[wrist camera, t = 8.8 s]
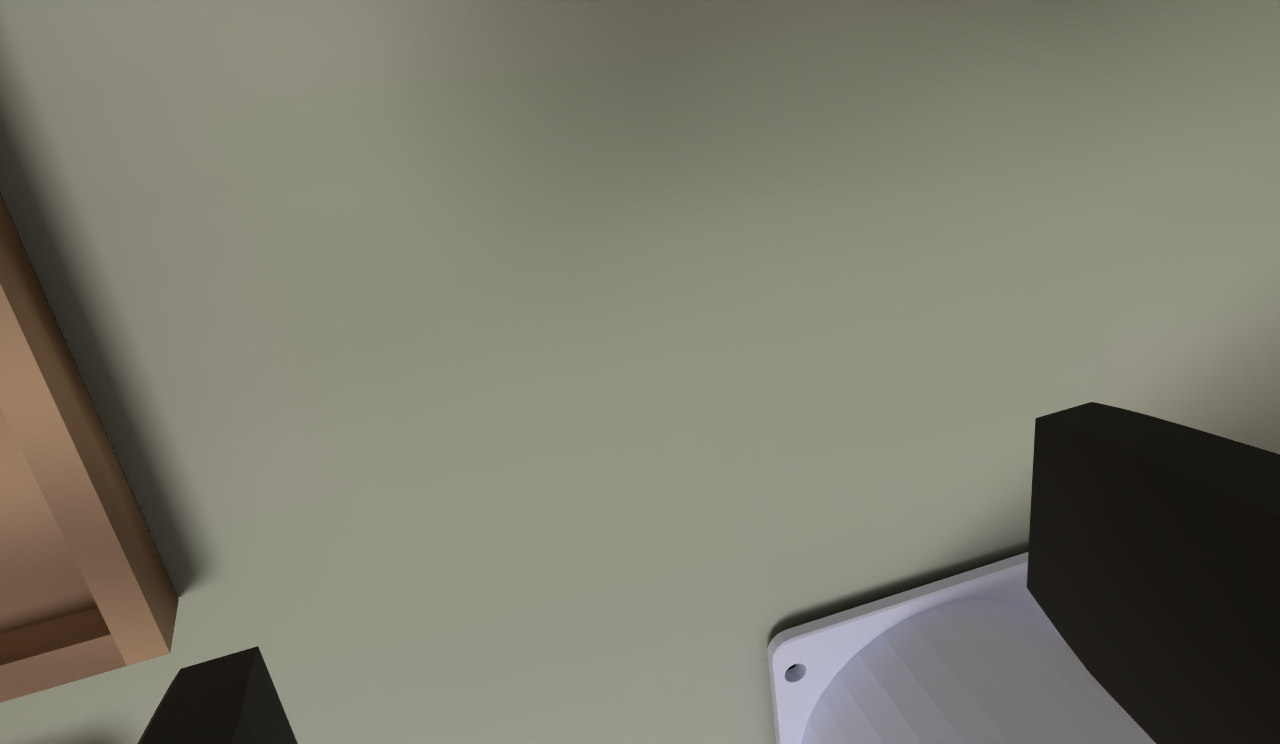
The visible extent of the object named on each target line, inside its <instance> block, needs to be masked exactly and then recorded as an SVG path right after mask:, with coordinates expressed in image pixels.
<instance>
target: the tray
mask: <svg viewBox="0 0 1280 744" xmlns="http://www.w3.org/2000/svg"><path fill="white" fill-rule="evenodd" d="M178 600H179V599H178V597H177V595H176V592H175V590H174V588H173V586H172V583H171V581H170V579H169V576H168V574H167V572H166V570H165V567H164V565H163V563H162V561H161V558H160V556H159V554H158V551H157V549H156V547H155V545H154V542H153V540H152V538H151V536H150V533H149V531H148V529H147V526H146V524H145V522H144V520H143V517H142V515H141V513H140V511H139V508H138V506H137V504H136V501H135V499H134V497H133V495H132V492H131V490H130V488H129V486H128V483H127V481H126V479H125V476H124V474H123V472H122V470H121V467H120V465H119V463H118V461H117V458H116V456H115V454H114V451H113V449H112V447H111V445H110V442H109V440H108V438H107V435H106V433H105V431H104V429H103V426H102V424H101V422H100V420H99V417H98V415H97V413H96V410H95V408H94V406H93V404H92V401H91V399H90V397H89V395H88V392H87V390H86V388H85V385H84V383H83V381H82V379H81V376H80V374H79V372H78V370H77V367H76V365H75V363H74V360H73V358H72V356H71V354H70V351H69V349H68V347H67V345H66V342H65V340H64V338H63V335H62V333H61V331H60V329H59V326H58V324H57V322H56V319H55V317H54V315H53V313H52V310H51V308H50V306H49V304H48V301H47V299H46V297H45V294H44V292H43V290H42V288H41V285H40V283H39V281H38V279H37V276H36V274H35V272H34V269H33V267H32V265H31V263H30V260H29V258H28V256H27V254H26V251H25V249H24V247H23V244H22V242H21V240H20V238H19V235H18V233H17V231H16V229H15V226H14V224H13V222H12V219H11V217H10V215H9V213H8V210H7V208H6V206H5V204H4V201H3V199H2V197H1V194H0V702H4V701H7V700H11V699H14V698H17V697H21V696H24V695H28V694H31V693H35V692H38V691H42V690H45V689H49V688H52V687H55V686H59V685H62V684H66V683H69V682H73V681H76V680H80V679H83V678H87V677H90V676H93V675H97V674H100V673H104V672H107V671H111V670H114V669H118V668H121V667H124V666H128V665H131V664H135V663H138V662H142V661H145V660H149V659H152V658H156V657H159V656H162V655H166V654H169V653H170V650H171V644H172V638H173V632H174V625H175V619H176V613H177V606H178Z"/></svg>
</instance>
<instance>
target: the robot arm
mask: <svg viewBox="0 0 1280 744" xmlns="http://www.w3.org/2000/svg"><path fill="white" fill-rule="evenodd" d="M767 656H768V666H769V676H770V686H771V696H772V706H773V716H774V726H775V736H776V744H1280V455H1279V454H1276V453H1273V452H1269V451H1266V450H1263V449H1260V448H1256V447H1253V446H1250V445H1246V444H1243V443H1240V442H1236V441H1233V440H1230V439H1227V438H1223V437H1220V436H1217V435H1213V434H1210V433H1207V432H1203V431H1200V430H1197V429H1193V428H1190V427H1187V426H1183V425H1180V424H1176V423H1173V422H1169V421H1166V420H1162V419H1159V418H1155V417H1152V416H1148V415H1144V414H1141V413H1137V412H1133V411H1129V410H1125V409H1121V408H1117V407H1113V406H1108V405H1103V404H1099V403H1094V402H1090V403H1087V404H1083V405H1080V406H1076V407H1073V408H1069V409H1066V410H1063V411H1059V412H1056V413H1052V414H1049V415H1046V416H1042V417H1039V418H1036V422H1035V440H1034V459H1033V477H1032V496H1031V514H1030V533H1029V552H1026V553H1023V554H1020V555H1017V556H1014V557H1010V558H1007V559H1004V560H1001V561H998V562H995V563H992V564H989V565H986V566H982V567H979V568H976V569H973V570H970V571H967V572H964V573H961V574H958V575H954V576H951V577H948V578H945V579H942V580H939V581H936V582H933V583H930V584H926V585H923V586H920V587H917V588H914V589H911V590H908V591H905V592H902V593H898V594H895V595H892V596H889V597H886V598H883V599H880V600H877V601H874V602H870V603H867V604H864V605H861V606H858V607H855V608H852V609H849V610H846V611H842V612H839V613H836V614H833V615H830V616H827V617H824V618H821V619H818V620H814V621H811V622H808V623H805V624H802V625H799V626H796V627H793V628H790V629H786V630H784V631H782V632H780V633H778V634H777V635H776V636H775V637H774V638H773V639H772V640H771V642H770V644H769V646H768V651H767ZM794 664H797V665H796V666H795V667H794V668H792V669H790V670H787V669H788V668H789V667H791V666H792V665H794ZM138 744H297V741H296V739H295V736H294V734H293V731H292V729H291V726H290V724H289V721H288V719H287V717H286V714H285V712H284V709H283V707H282V704H281V702H280V699H279V697H278V694H277V692H276V689H275V687H274V684H273V682H272V679H271V677H270V674H269V672H268V670H267V667H266V665H265V662H264V660H263V657H262V655H261V652H260V650H259V647H258V646H257V647H254V648H251V649H247V650H244V651H240V652H237V653H234V654H230V655H227V656H223V657H220V658H216V659H213V660H210V661H206V662H203V663H199V664H196V665H193V666H189V667H186V668H182V669H180V671H179V672H178V674H177V675H176V677H175V678H174V680H173V681H172V683H171V685H170V686H169V688H168V690H167V692H166V693H165V695H164V697H163V699H162V700H161V702H160V704H159V706H158V708H157V709H156V711H155V713H154V715H153V717H152V718H151V720H150V722H149V724H148V726H147V727H146V729H145V731H144V733H143V735H142V737H141V738H140V740H139V742H138Z"/></svg>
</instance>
